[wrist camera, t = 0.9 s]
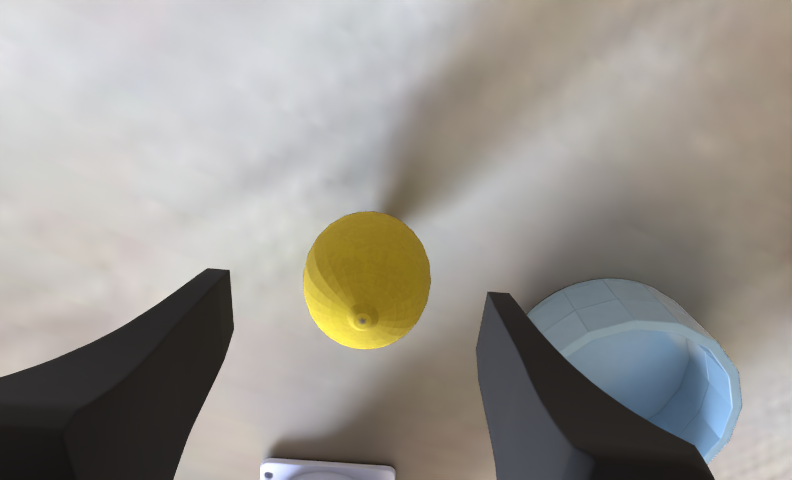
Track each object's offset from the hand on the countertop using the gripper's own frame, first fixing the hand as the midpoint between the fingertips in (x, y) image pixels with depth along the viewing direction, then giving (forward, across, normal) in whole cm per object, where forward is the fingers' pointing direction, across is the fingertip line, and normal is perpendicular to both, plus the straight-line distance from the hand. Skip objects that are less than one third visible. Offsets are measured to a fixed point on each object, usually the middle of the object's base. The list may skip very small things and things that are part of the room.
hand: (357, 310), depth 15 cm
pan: (+11, -13, +10) cm, 20 cm away
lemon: (+12, 0, +5) cm, 13 cm away
